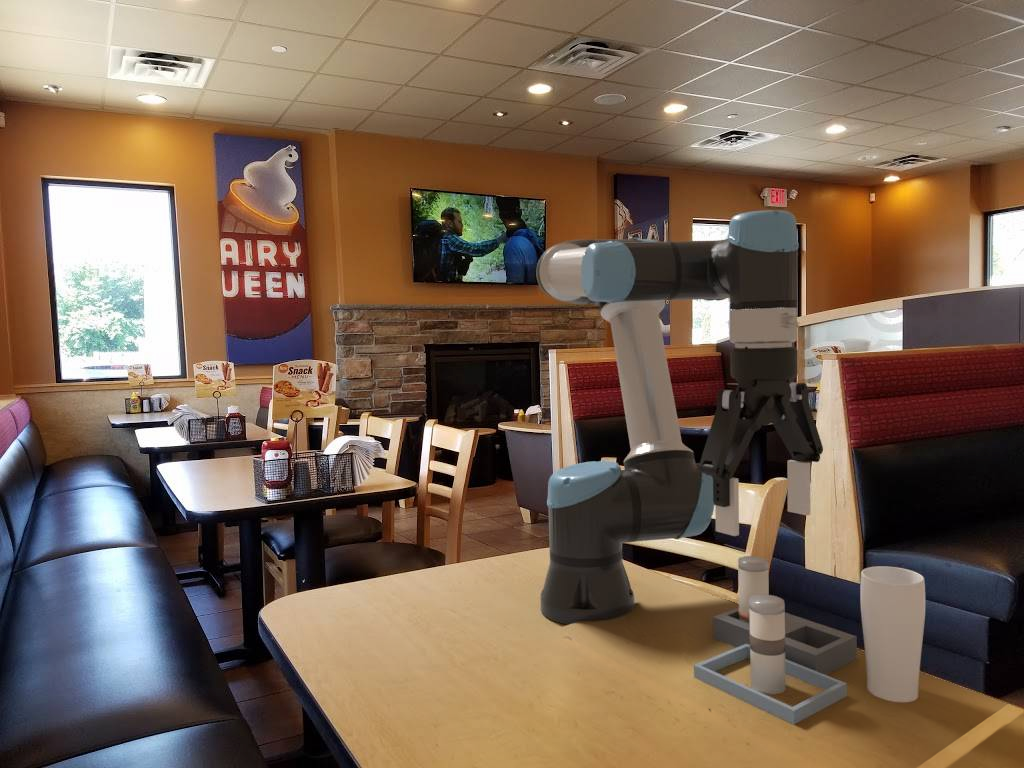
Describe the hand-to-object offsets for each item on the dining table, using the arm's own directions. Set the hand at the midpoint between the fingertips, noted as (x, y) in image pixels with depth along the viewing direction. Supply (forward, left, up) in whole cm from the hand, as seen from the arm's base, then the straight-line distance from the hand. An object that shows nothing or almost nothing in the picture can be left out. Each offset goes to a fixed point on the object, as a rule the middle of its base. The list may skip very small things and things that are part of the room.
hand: (764, 523), depth 88 cm
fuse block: (-5, +10, -21) cm, 24 cm away
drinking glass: (+10, +10, -21) cm, 26 cm away
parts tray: (0, 0, -21) cm, 21 cm away
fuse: (-10, +10, -20) cm, 25 cm away
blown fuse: (0, 0, -20) cm, 20 cm away
